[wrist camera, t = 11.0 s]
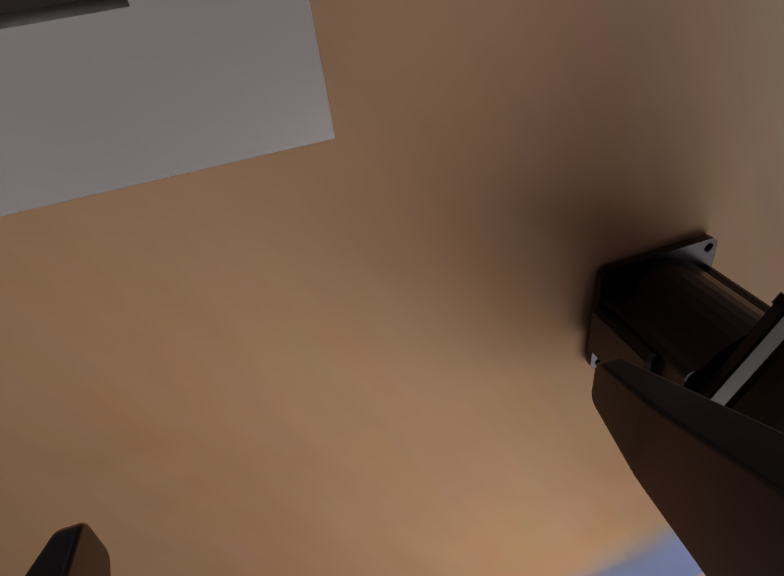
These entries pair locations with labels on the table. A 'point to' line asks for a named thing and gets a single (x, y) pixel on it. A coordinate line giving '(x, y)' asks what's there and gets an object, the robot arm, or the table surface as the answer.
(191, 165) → the socket block
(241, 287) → the table surface
